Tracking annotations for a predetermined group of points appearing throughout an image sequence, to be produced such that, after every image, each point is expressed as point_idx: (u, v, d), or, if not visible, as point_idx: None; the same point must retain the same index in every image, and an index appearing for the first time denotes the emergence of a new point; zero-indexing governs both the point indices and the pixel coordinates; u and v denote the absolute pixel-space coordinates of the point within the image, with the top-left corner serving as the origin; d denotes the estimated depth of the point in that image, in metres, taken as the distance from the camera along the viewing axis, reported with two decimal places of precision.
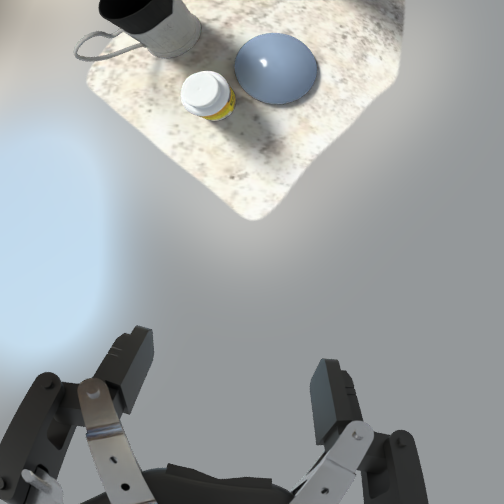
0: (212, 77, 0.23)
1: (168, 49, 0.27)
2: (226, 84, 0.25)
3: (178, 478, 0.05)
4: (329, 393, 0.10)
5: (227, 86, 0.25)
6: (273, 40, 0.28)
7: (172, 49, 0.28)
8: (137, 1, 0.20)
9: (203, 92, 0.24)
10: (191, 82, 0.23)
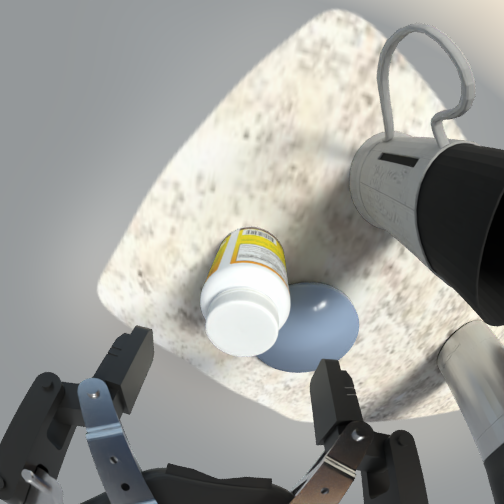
0: (263, 350, 0.14)
1: (365, 189, 0.18)
2: None
3: (178, 478, 0.05)
4: (329, 393, 0.10)
5: None
6: (346, 332, 0.25)
7: (363, 193, 0.19)
8: None
9: (233, 337, 0.14)
10: (257, 320, 0.14)
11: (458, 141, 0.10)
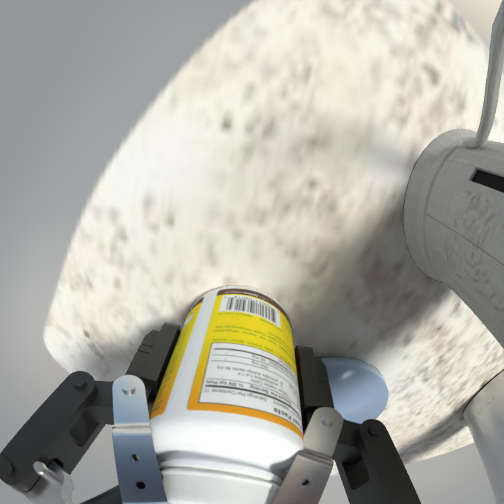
0: None
1: (438, 230, 0.09)
2: None
3: None
4: (300, 379, 0.10)
5: None
6: (370, 409, 0.16)
7: (432, 236, 0.10)
8: None
9: None
10: None
11: None
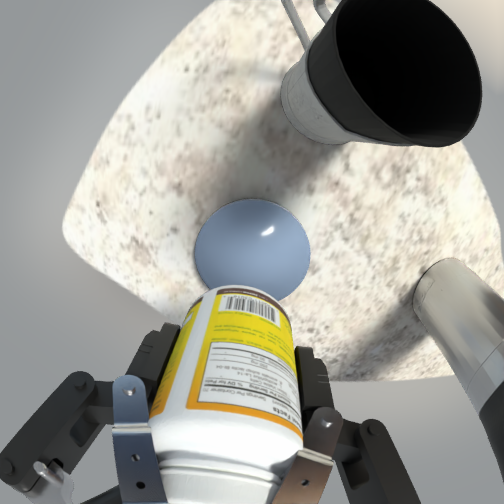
0: None
1: (290, 96, 0.18)
2: None
3: None
4: (300, 379, 0.10)
5: None
6: (296, 254, 0.25)
7: (290, 102, 0.19)
8: (400, 57, 0.12)
9: None
10: None
11: None
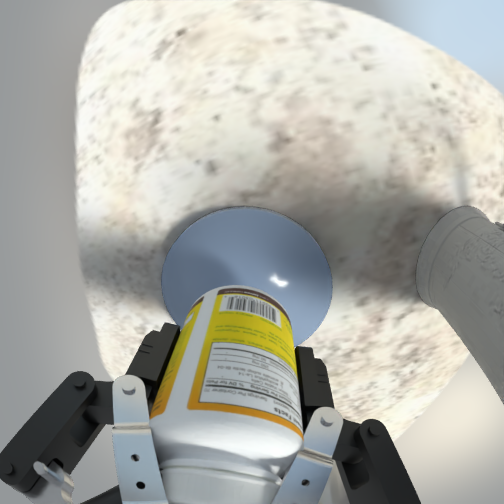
0: None
1: (465, 234, 0.13)
2: None
3: None
4: (300, 379, 0.10)
5: None
6: None
7: (457, 236, 0.13)
8: None
9: None
10: None
11: None
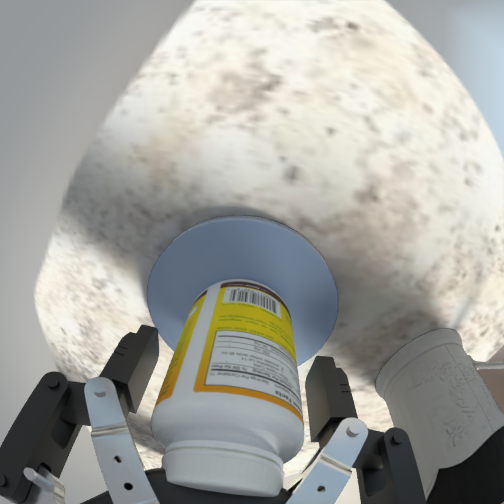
0: None
1: (447, 356, 0.14)
2: None
3: None
4: (323, 390, 0.10)
5: None
6: None
7: (439, 353, 0.15)
8: None
9: None
10: None
11: None
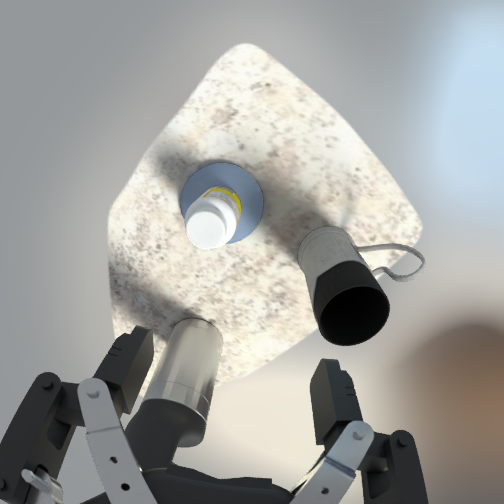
0: (217, 244, 0.26)
1: (330, 235, 0.34)
2: (217, 246, 0.29)
3: (178, 478, 0.05)
4: (329, 393, 0.10)
5: (215, 247, 0.29)
6: None
7: (326, 235, 0.35)
8: (354, 303, 0.32)
9: (200, 235, 0.26)
10: (213, 222, 0.25)
11: None
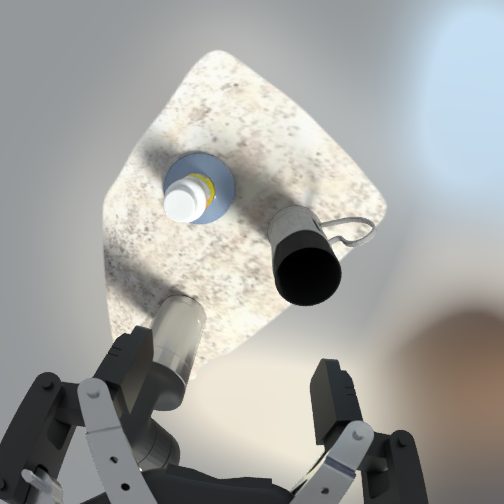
0: (189, 217, 0.31)
1: (294, 213, 0.39)
2: (191, 220, 0.33)
3: (178, 478, 0.05)
4: (329, 393, 0.10)
5: (189, 221, 0.34)
6: (201, 216, 0.42)
7: (291, 212, 0.40)
8: (317, 272, 0.36)
9: (175, 209, 0.31)
10: (185, 199, 0.30)
11: None
